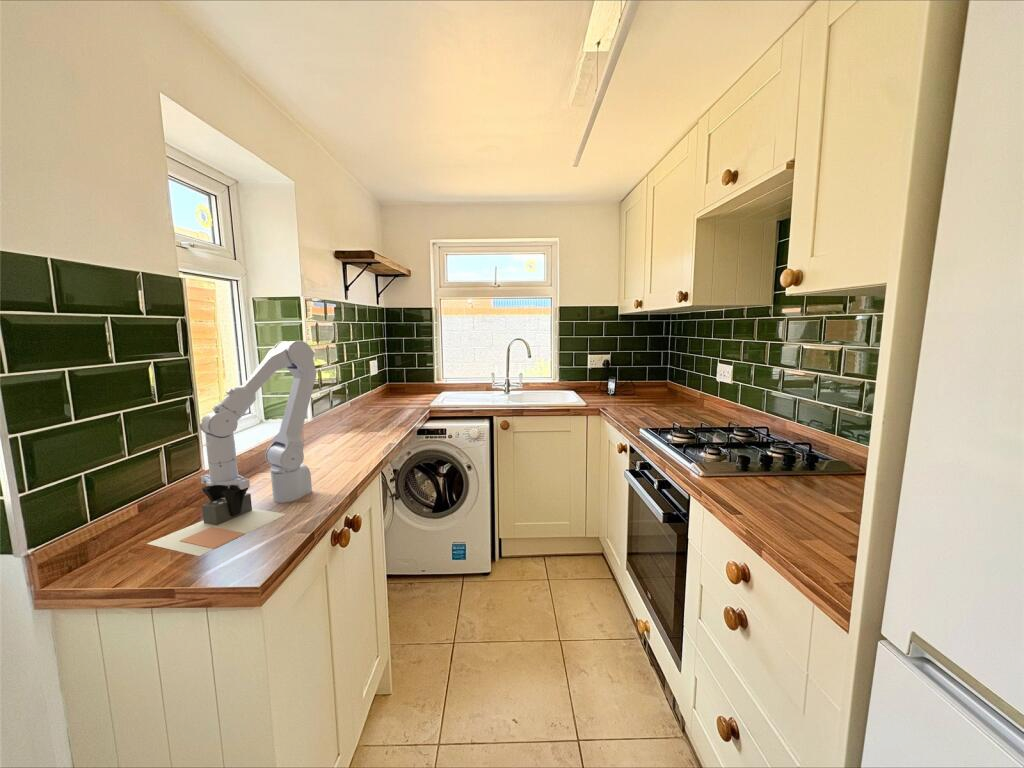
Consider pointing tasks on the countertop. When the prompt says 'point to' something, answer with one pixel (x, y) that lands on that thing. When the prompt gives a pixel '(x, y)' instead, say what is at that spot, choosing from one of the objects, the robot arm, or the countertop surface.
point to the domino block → (223, 510)
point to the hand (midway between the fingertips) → (228, 513)
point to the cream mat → (214, 533)
